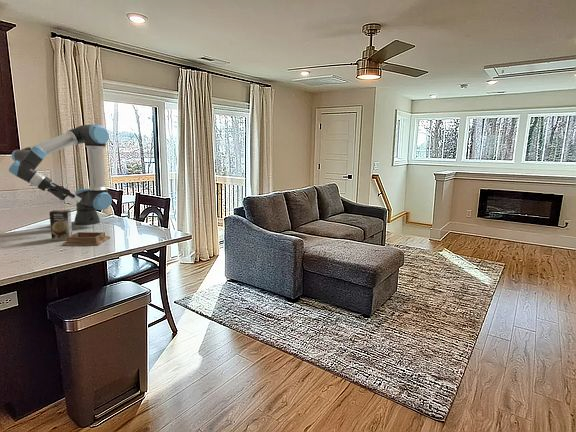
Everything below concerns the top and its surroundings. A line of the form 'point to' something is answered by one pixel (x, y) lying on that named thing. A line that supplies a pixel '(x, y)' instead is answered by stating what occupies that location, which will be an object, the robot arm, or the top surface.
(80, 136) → the robot arm
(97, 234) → the socket bay
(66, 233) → the coffee box
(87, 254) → the top surface
